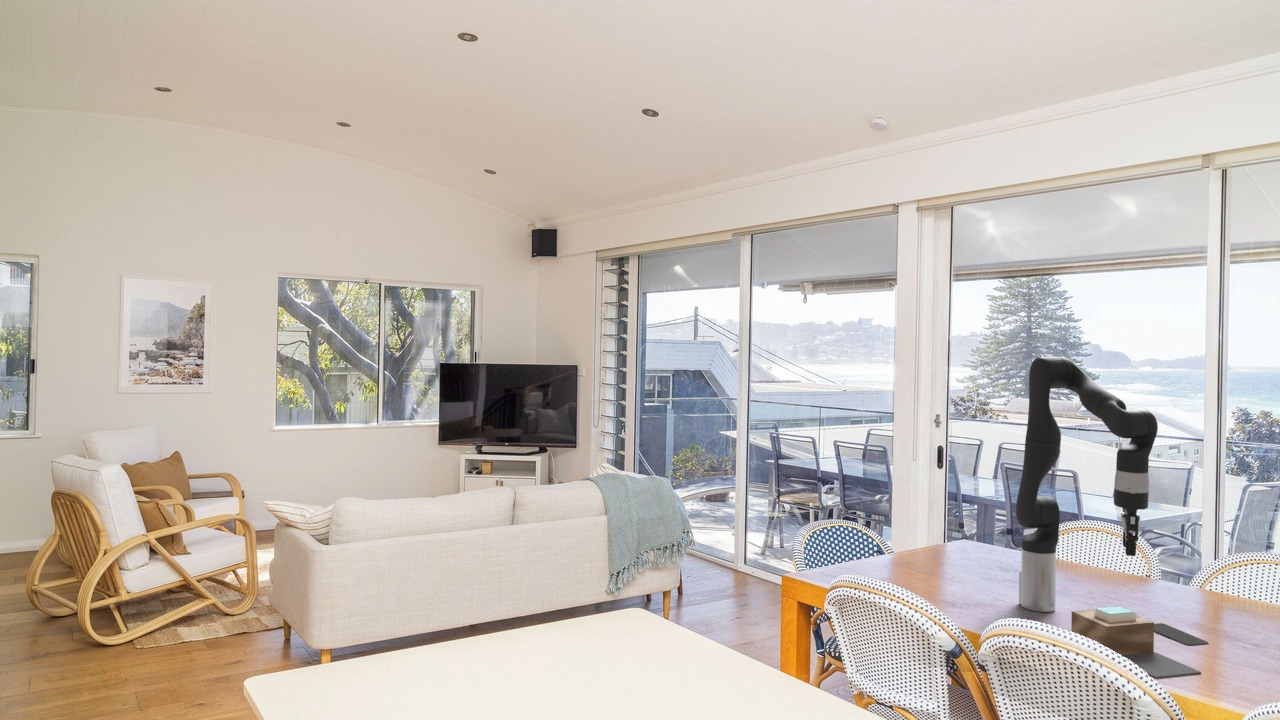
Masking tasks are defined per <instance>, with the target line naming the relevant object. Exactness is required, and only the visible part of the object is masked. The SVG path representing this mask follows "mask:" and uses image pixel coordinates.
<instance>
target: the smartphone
mask: <svg viewBox="0 0 1280 720" xmlns="http://www.w3.org/2000/svg"><path fill="white" fill-rule="evenodd" d="M1154 634H1158V635H1160V636H1161V637H1165V638H1167V639H1169V640H1172V641H1174V642H1176V643H1179V644H1181V645H1184V646H1190V647H1192V646H1203V645H1209V642H1208V641H1207V640H1205V639H1202V638H1199V637H1197V636H1195V635H1193V634H1191V633H1190V634H1189V632H1188V633H1187V632H1186V631H1183V630H1180V629H1178V628H1177V627H1176V628H1175V627H1173V626H1171V625H1168V624H1166V623H1161V622H1159V623H1158V622H1157V623H1154Z"/></svg>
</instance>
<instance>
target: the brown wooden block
mask: <svg viewBox="0 0 1280 720" xmlns="http://www.w3.org/2000/svg"><path fill="white" fill-rule="evenodd" d="M1095 609H1096V608H1094V609H1084V610H1082V609H1081V610H1073V611H1071V629H1070V630H1071V631H1072V632H1075V633H1078V634H1080V635H1083V636H1085V637H1088V638H1090V639H1092V640H1095V641H1097V642H1099V643H1100V644H1102V645H1104V646H1106V647H1108V648H1110V649H1112V650H1113V651H1115V652H1117V653H1119V654H1121V655H1130V654H1140V653H1151V652H1155V645H1154V643H1155V632H1154V624H1155V622H1154V621H1152V620H1149V619H1146V618H1144V617H1142V616H1138V615H1136V620H1131V621H1119V622H1108V621H1105V620H1103V619H1101V618H1098V617H1096V616H1094V613H1095Z"/></svg>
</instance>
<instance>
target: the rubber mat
mask: <svg viewBox="0 0 1280 720" xmlns="http://www.w3.org/2000/svg"><path fill="white" fill-rule="evenodd" d="M1122 656H1124V657H1126V658H1128V659H1130V660H1131V661H1132V662H1134V663H1135V664H1137V665H1138V666H1139V667H1140V668H1142V669H1143V670H1145V671H1146V672H1147V673H1148V674H1150V675H1151V676H1150V677H1152V678H1154V679H1156V680H1157V679H1164V678H1172V677H1174V678H1175V677H1182V676H1192V675H1200V674H1202V671H1199V670H1198V669H1195V668H1193V667H1191V666H1189V665H1186V664H1184V663H1181V662H1179V661H1177V660H1174V659H1172V658H1170V657H1168V656H1165V655H1163V654H1160V653H1159V652H1156V651H1154V652H1151V653H1140V654H1130V655H1122Z"/></svg>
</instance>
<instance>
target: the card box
mask: <svg viewBox="0 0 1280 720" xmlns="http://www.w3.org/2000/svg"><path fill="white" fill-rule="evenodd" d="M1094 609H1095V613H1094V616H1096V617H1098V618H1101V619H1103V620H1105V621H1108V622H1119V621H1131V620H1136V616H1137V612H1135V611H1133V610H1130V609H1127V608H1125V607H1123V606H1121V605H1120V606H1110V607H1097V608H1094Z"/></svg>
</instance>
